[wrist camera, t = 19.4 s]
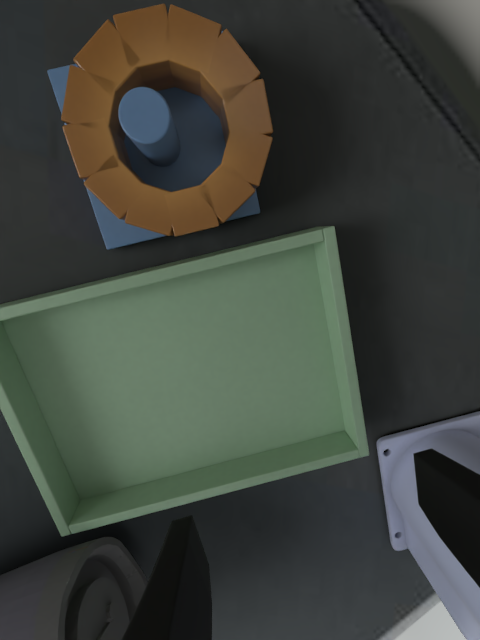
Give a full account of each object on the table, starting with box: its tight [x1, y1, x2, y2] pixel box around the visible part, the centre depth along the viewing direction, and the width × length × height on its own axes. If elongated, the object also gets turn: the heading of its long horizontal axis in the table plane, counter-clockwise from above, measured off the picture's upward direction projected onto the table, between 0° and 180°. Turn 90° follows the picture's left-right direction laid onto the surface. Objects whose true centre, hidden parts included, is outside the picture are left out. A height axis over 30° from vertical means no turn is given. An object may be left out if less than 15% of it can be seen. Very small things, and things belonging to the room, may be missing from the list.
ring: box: [61, 4, 273, 236], centre depth 15 cm, size 8×8×3 cm
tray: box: [0, 226, 369, 537], centre depth 19 cm, size 18×13×3 cm
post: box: [47, 31, 260, 250], centre depth 14 cm, size 8×8×6 cm
